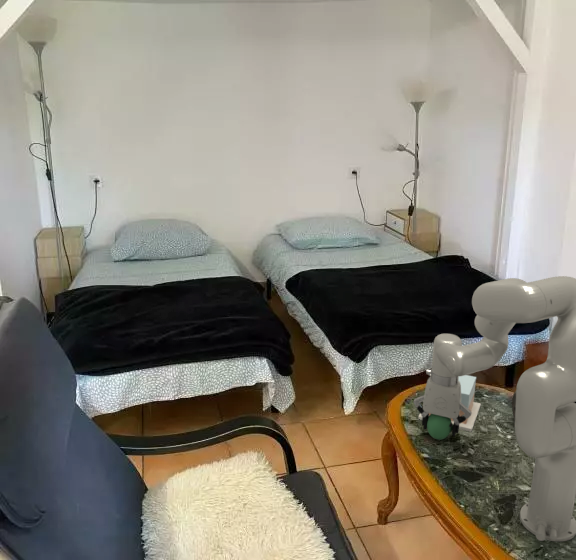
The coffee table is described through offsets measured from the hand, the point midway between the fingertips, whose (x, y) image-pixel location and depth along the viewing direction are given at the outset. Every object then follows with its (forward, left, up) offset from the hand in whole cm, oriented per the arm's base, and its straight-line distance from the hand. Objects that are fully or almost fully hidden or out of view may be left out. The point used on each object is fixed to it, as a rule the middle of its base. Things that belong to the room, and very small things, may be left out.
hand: (439, 430), depth 175 cm
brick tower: (+15, 0, -2) cm, 15 cm away
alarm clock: (+16, -21, -3) cm, 27 cm away
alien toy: (0, 0, -3) cm, 3 cm away
